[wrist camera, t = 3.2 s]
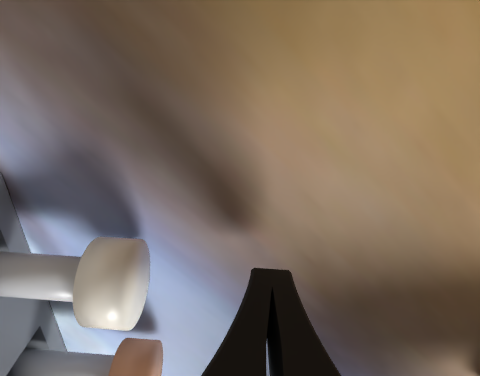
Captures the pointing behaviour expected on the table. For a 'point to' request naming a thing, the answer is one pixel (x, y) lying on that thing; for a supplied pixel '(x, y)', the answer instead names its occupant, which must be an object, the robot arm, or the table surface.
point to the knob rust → (93, 361)
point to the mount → (21, 300)
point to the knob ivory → (85, 280)
